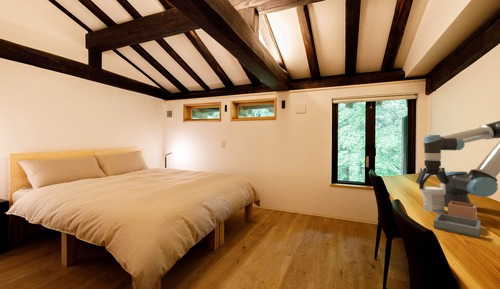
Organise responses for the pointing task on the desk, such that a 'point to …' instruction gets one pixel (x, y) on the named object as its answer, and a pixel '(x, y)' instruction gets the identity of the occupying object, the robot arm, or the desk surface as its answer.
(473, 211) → the terracotta bin
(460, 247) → the desk surface
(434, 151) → the robot arm
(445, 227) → the gray tray
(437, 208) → the supplement tub
